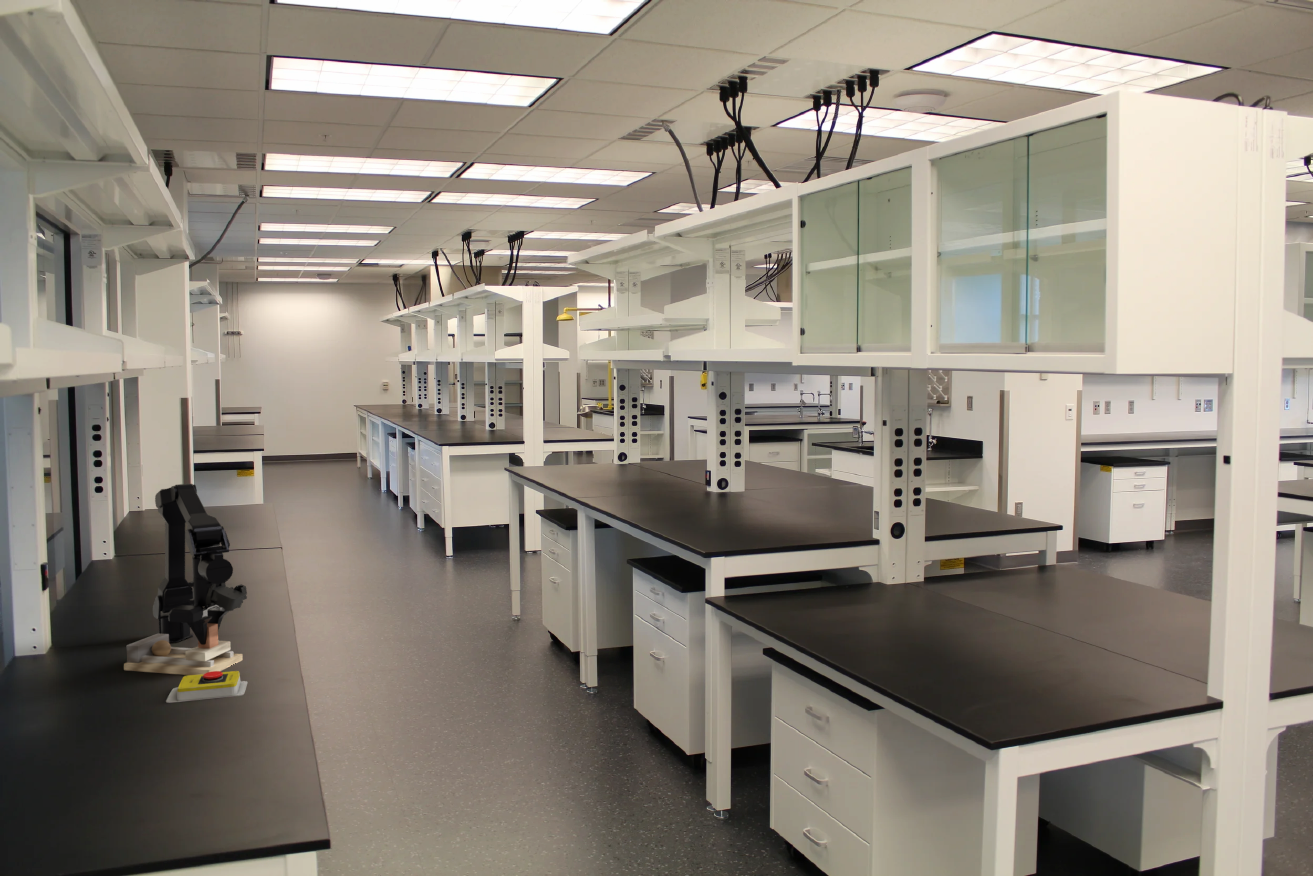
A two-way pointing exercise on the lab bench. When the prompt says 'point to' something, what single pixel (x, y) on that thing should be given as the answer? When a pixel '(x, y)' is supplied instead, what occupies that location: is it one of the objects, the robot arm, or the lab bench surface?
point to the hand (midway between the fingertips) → (208, 642)
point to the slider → (208, 646)
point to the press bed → (173, 659)
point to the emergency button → (208, 686)
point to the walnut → (161, 648)
